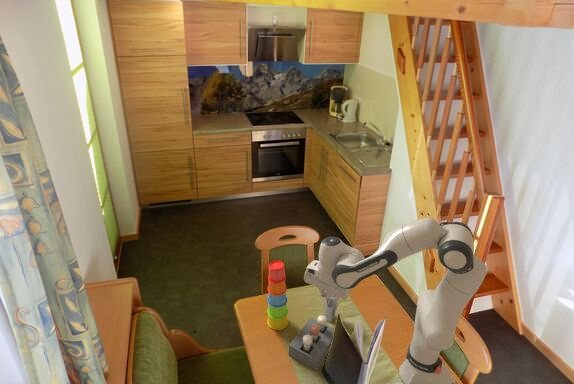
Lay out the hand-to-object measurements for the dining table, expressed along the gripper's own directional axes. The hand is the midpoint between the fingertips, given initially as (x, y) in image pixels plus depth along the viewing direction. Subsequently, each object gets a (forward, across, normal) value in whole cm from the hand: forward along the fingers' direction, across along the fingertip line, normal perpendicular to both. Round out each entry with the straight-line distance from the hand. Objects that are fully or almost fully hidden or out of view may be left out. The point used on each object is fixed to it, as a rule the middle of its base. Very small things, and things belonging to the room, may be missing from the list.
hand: (324, 296), depth 164 cm
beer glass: (+25, +2, -14) cm, 29 cm away
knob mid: (+19, 0, +6) cm, 20 cm away
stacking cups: (+25, +21, +4) cm, 33 cm away
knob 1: (+19, 0, +13) cm, 23 cm away
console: (+25, 0, +6) cm, 26 cm away
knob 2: (+19, 0, 0) cm, 19 cm away
